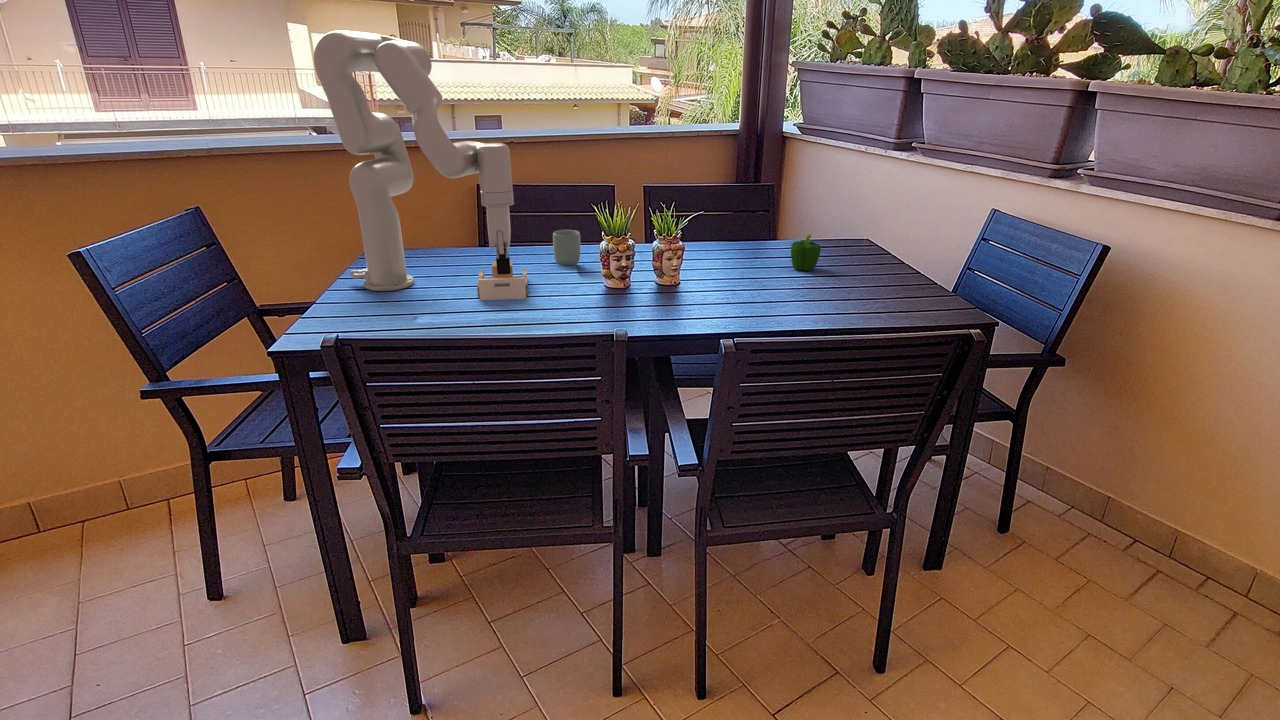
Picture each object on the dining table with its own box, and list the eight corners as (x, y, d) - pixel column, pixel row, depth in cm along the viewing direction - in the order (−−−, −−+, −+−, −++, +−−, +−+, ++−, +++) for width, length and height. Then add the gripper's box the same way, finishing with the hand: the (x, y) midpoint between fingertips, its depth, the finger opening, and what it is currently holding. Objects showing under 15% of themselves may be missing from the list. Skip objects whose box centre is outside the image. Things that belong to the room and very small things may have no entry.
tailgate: (480, 302, 160) (478, 278, 157) (526, 300, 162) (524, 277, 159) (480, 304, 159) (478, 280, 156) (526, 302, 160) (524, 278, 158)
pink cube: (493, 289, 166) (491, 266, 164) (494, 283, 170) (492, 261, 168) (513, 288, 167) (512, 266, 164) (513, 283, 171) (512, 260, 169)
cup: (576, 271, 188) (575, 236, 184) (550, 269, 189) (549, 234, 185) (583, 263, 195) (583, 230, 191) (558, 262, 196) (557, 228, 192)
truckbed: (481, 285, 173) (479, 269, 172) (527, 284, 175) (526, 268, 174) (478, 304, 160) (477, 286, 158) (528, 302, 162) (527, 285, 160)
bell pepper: (806, 274, 188) (811, 240, 184) (783, 268, 194) (787, 235, 190) (823, 269, 193) (828, 236, 189) (800, 263, 199) (804, 231, 195)
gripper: (482, 193, 161) (489, 266, 168) (479, 204, 147) (487, 282, 155) (513, 192, 162) (519, 264, 170) (513, 203, 149) (519, 281, 156)
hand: (504, 273), depth 162 cm, fingers closed
